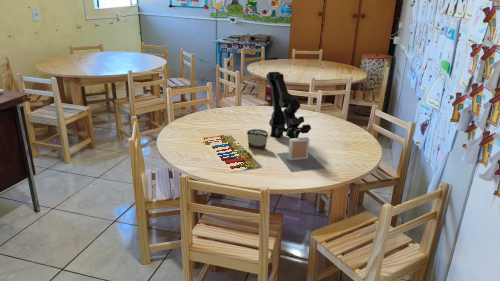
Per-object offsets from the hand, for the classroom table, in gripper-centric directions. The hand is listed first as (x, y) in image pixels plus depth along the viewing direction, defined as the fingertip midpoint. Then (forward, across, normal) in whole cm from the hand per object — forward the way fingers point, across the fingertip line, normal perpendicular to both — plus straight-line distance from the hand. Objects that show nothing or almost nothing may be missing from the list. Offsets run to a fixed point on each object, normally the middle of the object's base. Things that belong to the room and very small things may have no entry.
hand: (296, 144), depth 189 cm
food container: (-6, -16, +16) cm, 23 cm away
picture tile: (+7, 0, +2) cm, 7 cm away
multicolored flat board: (-3, -34, +14) cm, 37 cm away
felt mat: (+9, 0, 0) cm, 9 cm away
